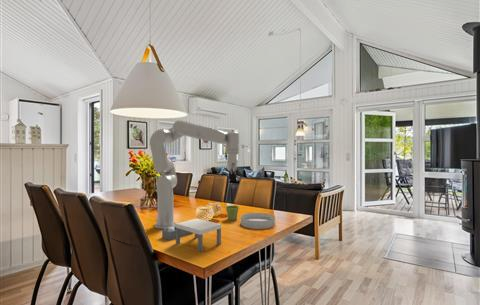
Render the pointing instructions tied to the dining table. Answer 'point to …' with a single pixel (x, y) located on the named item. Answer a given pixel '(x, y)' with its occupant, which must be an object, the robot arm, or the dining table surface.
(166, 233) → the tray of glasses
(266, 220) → the dish
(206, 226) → the low table
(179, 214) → the dining table surface
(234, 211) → the plant pot
